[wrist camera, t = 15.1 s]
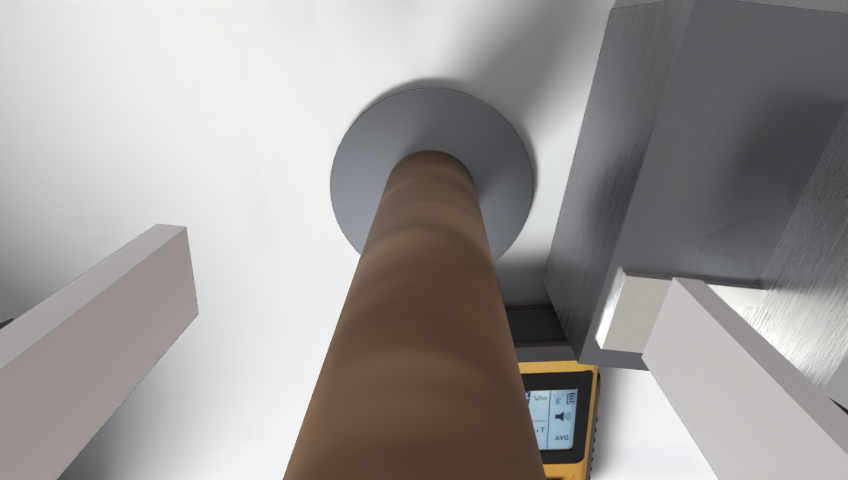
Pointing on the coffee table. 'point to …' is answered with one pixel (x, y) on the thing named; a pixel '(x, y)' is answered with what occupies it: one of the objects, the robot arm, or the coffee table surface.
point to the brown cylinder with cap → (421, 348)
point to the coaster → (443, 131)
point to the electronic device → (556, 392)
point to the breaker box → (711, 182)
